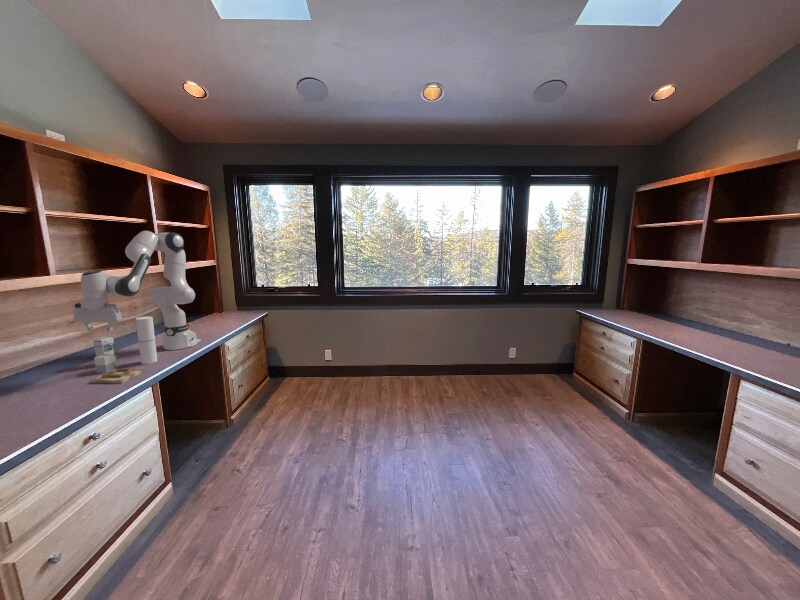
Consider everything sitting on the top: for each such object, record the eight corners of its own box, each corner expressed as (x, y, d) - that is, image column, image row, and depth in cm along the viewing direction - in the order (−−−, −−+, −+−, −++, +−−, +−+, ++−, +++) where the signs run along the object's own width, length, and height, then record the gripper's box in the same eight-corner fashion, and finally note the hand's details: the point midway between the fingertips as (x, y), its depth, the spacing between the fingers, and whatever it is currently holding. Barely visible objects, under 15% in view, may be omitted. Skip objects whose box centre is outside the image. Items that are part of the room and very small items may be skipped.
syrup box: (105, 366, 165) (101, 339, 163) (96, 365, 166) (93, 339, 164) (117, 362, 171) (113, 336, 169) (108, 361, 172) (105, 336, 170)
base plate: (116, 371, 158) (115, 366, 158) (144, 371, 159) (144, 366, 159) (90, 383, 145) (89, 377, 144) (121, 383, 145) (120, 377, 145)
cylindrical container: (137, 364, 169) (132, 319, 165) (147, 359, 176) (142, 316, 172) (150, 364, 169) (145, 319, 165) (160, 359, 176) (155, 316, 172)
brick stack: (105, 369, 162) (103, 354, 160) (115, 369, 162) (113, 354, 160) (96, 372, 157) (94, 357, 155) (106, 372, 157) (104, 357, 156)
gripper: (123, 302, 157) (127, 329, 159) (81, 302, 156) (85, 329, 158) (112, 305, 151) (116, 332, 153) (68, 304, 150) (73, 332, 152)
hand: (100, 330), depth 156 cm, fingers open, 8 cm apart
